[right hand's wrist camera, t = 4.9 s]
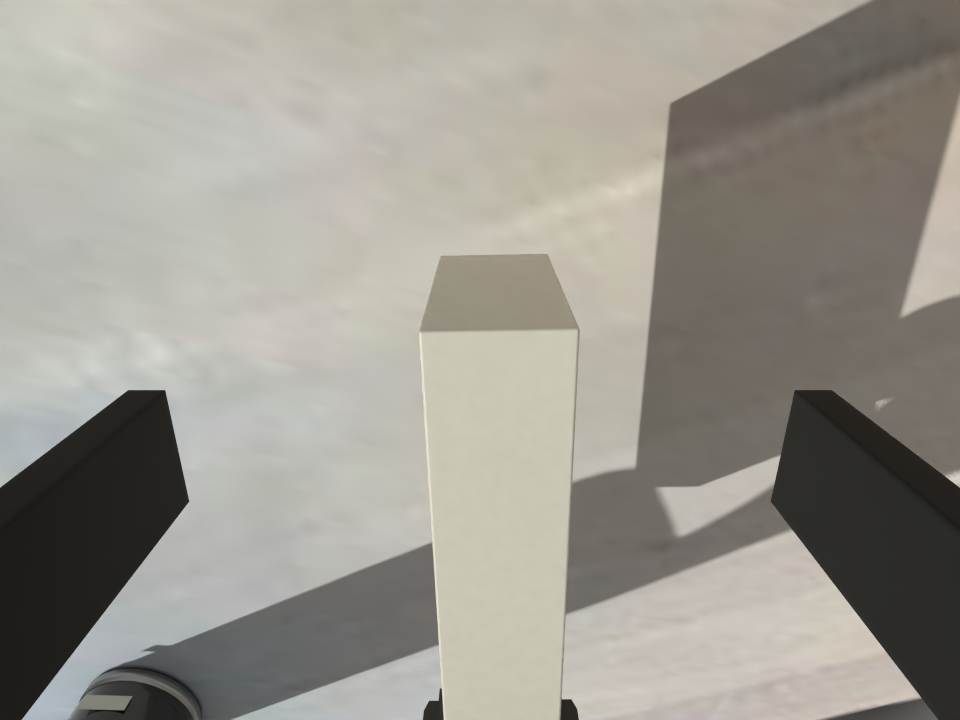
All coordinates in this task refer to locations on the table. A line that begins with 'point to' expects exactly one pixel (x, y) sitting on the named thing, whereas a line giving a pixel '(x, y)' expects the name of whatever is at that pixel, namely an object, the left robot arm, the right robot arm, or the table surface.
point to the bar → (500, 480)
